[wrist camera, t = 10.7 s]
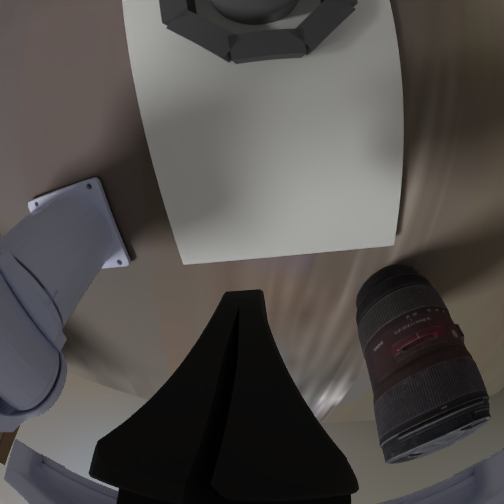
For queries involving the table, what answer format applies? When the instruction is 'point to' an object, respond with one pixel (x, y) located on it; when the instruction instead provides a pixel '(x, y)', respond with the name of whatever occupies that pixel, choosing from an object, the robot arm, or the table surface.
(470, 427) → the camera lens
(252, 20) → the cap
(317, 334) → the table surface
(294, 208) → the board
